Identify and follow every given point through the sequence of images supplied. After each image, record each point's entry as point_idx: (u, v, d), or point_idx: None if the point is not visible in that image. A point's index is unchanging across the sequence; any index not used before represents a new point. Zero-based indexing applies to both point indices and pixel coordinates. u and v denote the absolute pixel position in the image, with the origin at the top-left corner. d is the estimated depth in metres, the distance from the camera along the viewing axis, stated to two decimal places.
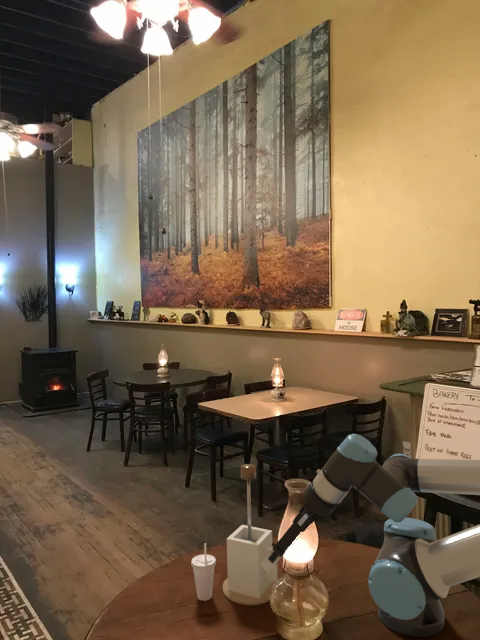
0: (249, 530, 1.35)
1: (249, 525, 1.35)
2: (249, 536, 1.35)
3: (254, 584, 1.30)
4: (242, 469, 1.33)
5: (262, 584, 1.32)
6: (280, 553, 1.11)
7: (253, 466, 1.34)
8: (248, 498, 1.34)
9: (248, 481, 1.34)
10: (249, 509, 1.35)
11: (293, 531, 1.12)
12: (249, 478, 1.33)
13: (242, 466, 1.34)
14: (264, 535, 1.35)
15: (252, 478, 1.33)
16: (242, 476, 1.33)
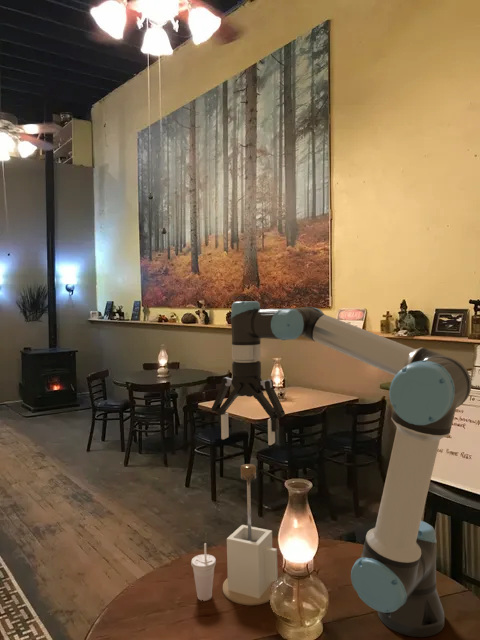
0: (249, 530, 1.35)
1: (249, 525, 1.35)
2: (249, 536, 1.35)
3: (254, 584, 1.30)
4: (242, 469, 1.33)
5: (262, 584, 1.32)
6: None
7: (253, 466, 1.34)
8: (248, 498, 1.34)
9: (248, 481, 1.34)
10: (249, 509, 1.35)
11: None
12: (249, 478, 1.33)
13: (242, 466, 1.34)
14: (264, 535, 1.35)
15: (252, 478, 1.33)
16: (242, 476, 1.33)
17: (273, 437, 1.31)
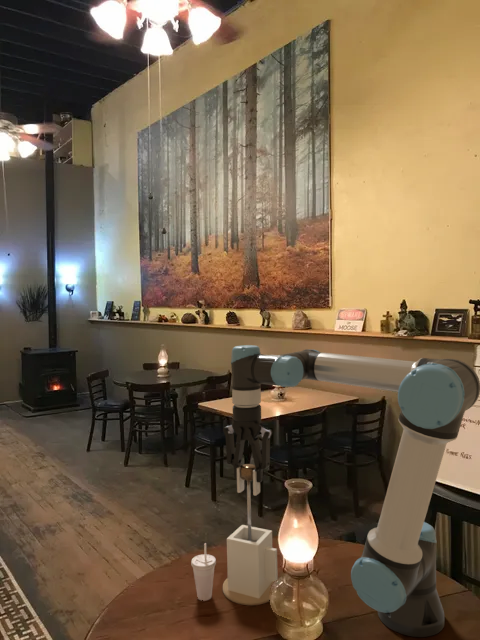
0: (249, 530, 1.35)
1: (249, 525, 1.35)
2: (249, 536, 1.35)
3: (254, 584, 1.30)
4: (242, 469, 1.33)
5: (262, 584, 1.32)
6: None
7: (253, 466, 1.34)
8: (248, 498, 1.34)
9: (248, 481, 1.34)
10: (249, 509, 1.35)
11: None
12: (249, 478, 1.33)
13: (242, 466, 1.34)
14: (264, 535, 1.35)
15: (252, 478, 1.33)
16: (242, 476, 1.33)
17: (258, 487, 1.34)
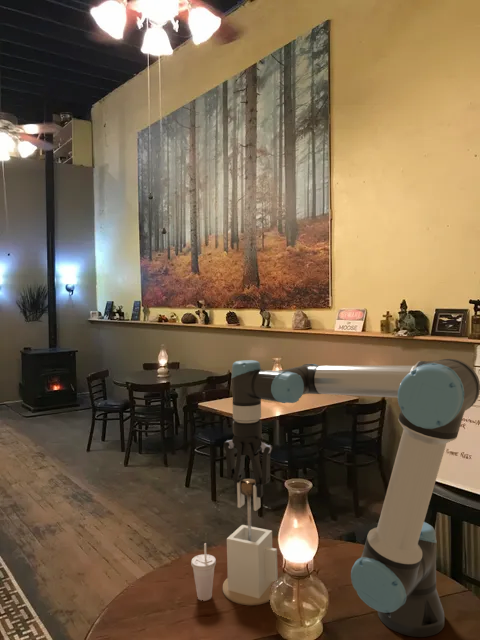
0: None
1: (249, 540, 1.35)
2: None
3: (254, 584, 1.30)
4: (242, 484, 1.33)
5: (262, 584, 1.32)
6: None
7: (253, 481, 1.34)
8: (248, 513, 1.35)
9: (248, 496, 1.34)
10: (249, 524, 1.35)
11: None
12: (249, 493, 1.33)
13: (242, 481, 1.35)
14: (264, 535, 1.35)
15: (252, 493, 1.33)
16: (242, 491, 1.34)
17: (258, 502, 1.34)
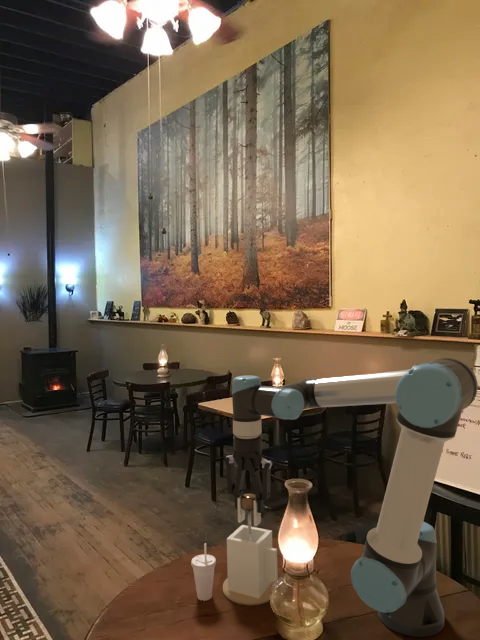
0: None
1: None
2: None
3: (254, 584, 1.30)
4: (243, 499, 1.34)
5: (262, 584, 1.32)
6: None
7: (254, 496, 1.35)
8: (249, 528, 1.35)
9: (249, 511, 1.35)
10: (250, 539, 1.35)
11: None
12: (250, 509, 1.33)
13: (242, 496, 1.35)
14: (264, 535, 1.35)
15: (253, 508, 1.33)
16: (243, 506, 1.34)
17: (259, 517, 1.34)
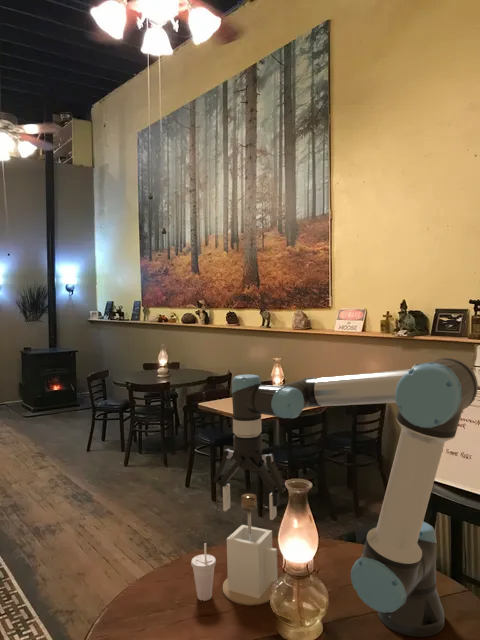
0: None
1: None
2: None
3: (254, 584, 1.30)
4: (243, 499, 1.34)
5: (262, 584, 1.32)
6: None
7: (254, 496, 1.35)
8: (249, 528, 1.35)
9: (249, 511, 1.35)
10: (250, 539, 1.35)
11: None
12: (250, 509, 1.33)
13: (242, 496, 1.35)
14: (264, 535, 1.35)
15: (253, 508, 1.33)
16: (243, 506, 1.34)
17: (274, 511, 1.32)
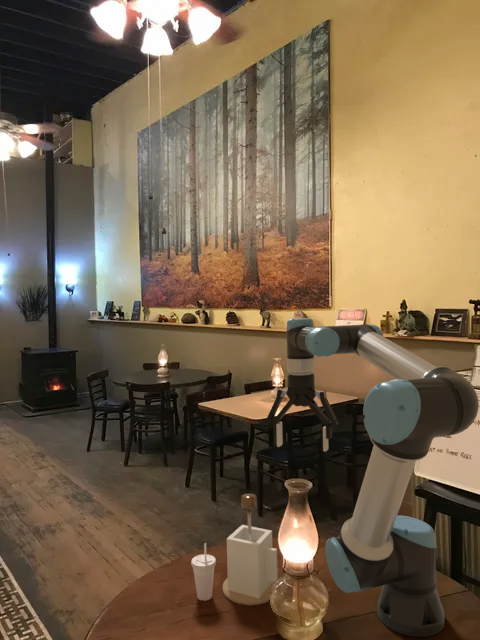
0: None
1: None
2: None
3: (254, 584, 1.30)
4: (243, 499, 1.34)
5: (262, 584, 1.32)
6: None
7: (254, 496, 1.35)
8: (249, 528, 1.35)
9: (249, 511, 1.35)
10: (250, 539, 1.35)
11: None
12: (250, 509, 1.33)
13: (242, 496, 1.35)
14: (264, 535, 1.35)
15: (253, 508, 1.33)
16: (243, 506, 1.34)
17: (327, 444, 1.42)
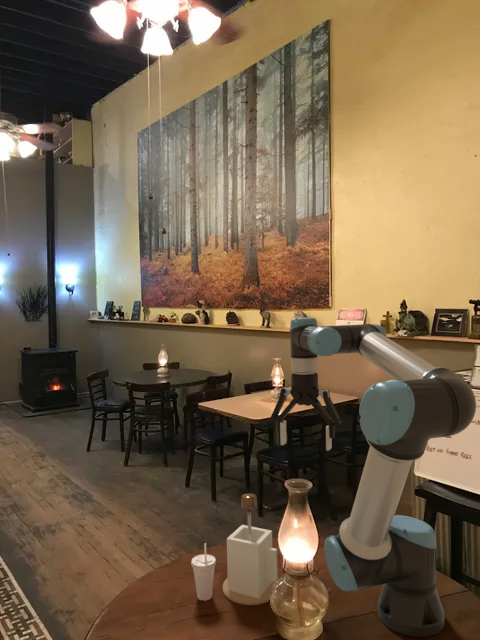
0: None
1: None
2: None
3: (254, 584, 1.30)
4: (243, 499, 1.34)
5: (262, 584, 1.32)
6: None
7: (254, 496, 1.35)
8: (249, 528, 1.35)
9: (249, 511, 1.35)
10: (250, 539, 1.35)
11: None
12: (250, 509, 1.33)
13: (242, 496, 1.35)
14: (264, 535, 1.35)
15: (253, 508, 1.33)
16: (243, 506, 1.34)
17: (330, 443, 1.42)
